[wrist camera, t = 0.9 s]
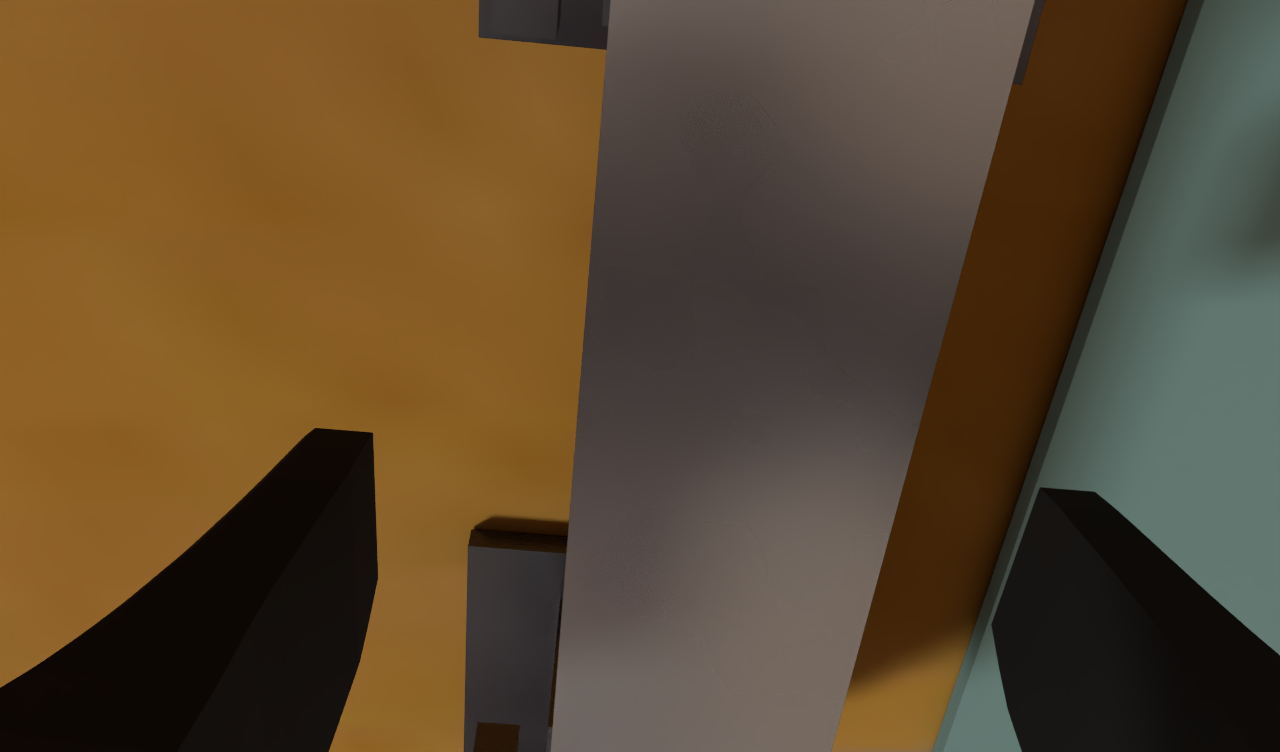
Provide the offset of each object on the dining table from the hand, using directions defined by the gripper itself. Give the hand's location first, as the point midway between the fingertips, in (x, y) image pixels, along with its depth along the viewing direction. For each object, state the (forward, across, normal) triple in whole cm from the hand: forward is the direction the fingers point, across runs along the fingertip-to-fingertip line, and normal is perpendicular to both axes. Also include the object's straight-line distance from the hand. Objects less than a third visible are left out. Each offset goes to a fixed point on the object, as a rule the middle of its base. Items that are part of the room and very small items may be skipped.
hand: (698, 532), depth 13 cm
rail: (+2, 0, 0) cm, 2 cm away
